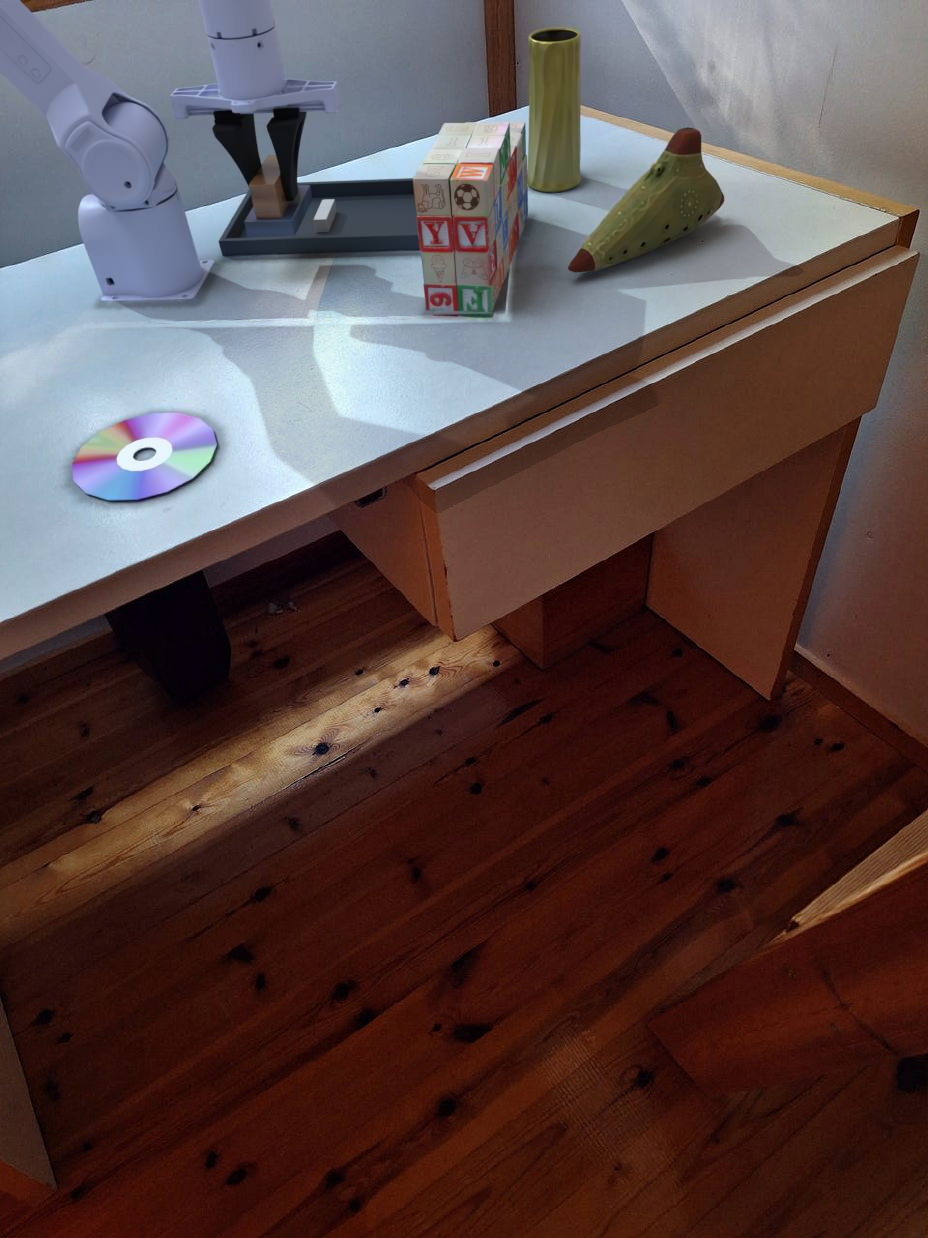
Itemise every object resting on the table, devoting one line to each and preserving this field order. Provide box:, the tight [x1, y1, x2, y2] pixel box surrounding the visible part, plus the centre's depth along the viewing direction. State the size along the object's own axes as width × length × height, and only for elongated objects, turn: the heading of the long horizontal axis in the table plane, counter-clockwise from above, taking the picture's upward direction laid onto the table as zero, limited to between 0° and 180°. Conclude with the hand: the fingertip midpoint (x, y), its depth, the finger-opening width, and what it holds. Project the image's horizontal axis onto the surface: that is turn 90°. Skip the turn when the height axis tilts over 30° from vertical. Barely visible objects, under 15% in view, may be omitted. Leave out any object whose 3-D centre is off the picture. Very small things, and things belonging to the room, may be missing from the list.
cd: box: [71, 412, 218, 501], centre depth 70 cm, size 11×11×1 cm
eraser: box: [244, 154, 313, 237], centre depth 84 cm, size 8×4×4 cm, turn 175°
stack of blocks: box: [412, 121, 529, 319], centre depth 84 cm, size 21×6×12 cm, turn 169°
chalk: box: [313, 199, 337, 233], centre depth 96 cm, size 1×5×1 cm, turn 175°
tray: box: [218, 177, 420, 257], centre depth 96 cm, size 21×14×2 cm
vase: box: [527, 26, 583, 193], centre depth 96 cm, size 6×6×14 cm
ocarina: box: [567, 126, 725, 274], centre depth 84 cm, size 20×5×10 cm, turn 126°
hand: (276, 197), depth 84 cm, fingers closed on eraser, 2 cm apart
